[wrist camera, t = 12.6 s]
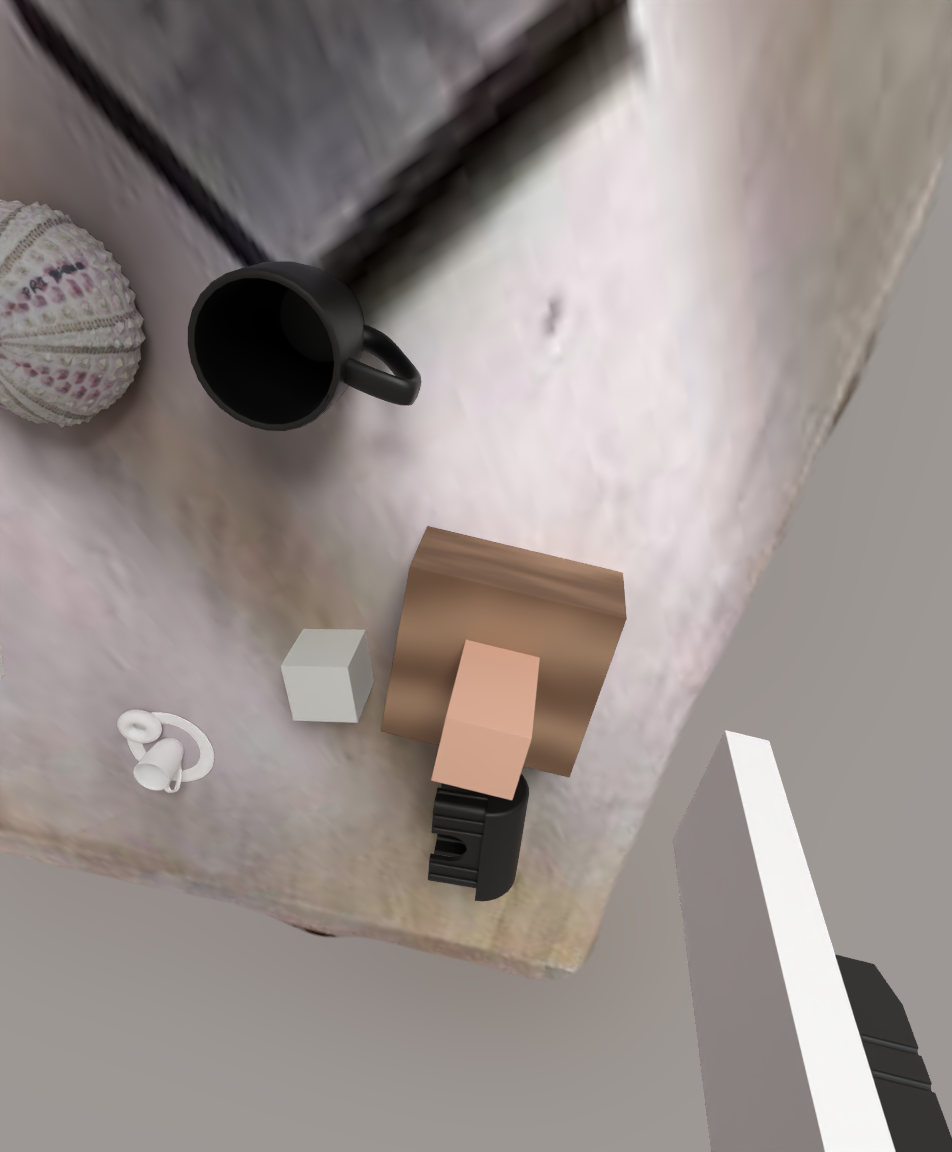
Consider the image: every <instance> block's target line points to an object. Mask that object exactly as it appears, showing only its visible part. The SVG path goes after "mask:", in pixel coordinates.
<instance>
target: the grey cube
mask: <svg viewBox="0 0 952 1152" xmlns="http://www.w3.org/2000/svg"><path fill="white" fill-rule="evenodd" d="M281 670H282V674H283V678H284V682H285V687H286V691H287V695H288V700H289V704H290V708H291V713H292V717H293V721H322V722H352V723H358V721H359V718H360V716H361V713H362V711H363V708H364V706H365V704H366V701H367V699H368V696H369V694H370V692H371V689H372V687H373V684H374V679H373V672H372V666H371V660H370V654H369V648H368V642H367V636H366V630H343V629H303V630H302V632H301V633H300V635H299V637H298V638H297V640H296V642H295V643H294V645H293V646H292V648H291V650H290V651H289V653H288V655H287V656H286V658H285V660H284V661H283V663H282V665H281Z"/></svg>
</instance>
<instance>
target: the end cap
mask: <svg viewBox="0 0 952 1152" xmlns="http://www.w3.org/2000/svg"><path fill="white" fill-rule="evenodd" d="M528 797H529V787H528V784H527V781H526V780H525V778H524V776H523V775H522V774H520V777H519V781H518V784H517V787H516V790H515V793H514V796H513V800H509V799H505V798H501V797H496V796H492V795H488V794H484V793H480V792H476V791H472V790H468V789H464V788H460V787H456V786H452V785H448V784H444V783H442V788H438V789H437V793H436V798H435V802H434V809H433V822H432V833H437V834H438V835H437V842H436V846H435V851H434V854H430V860H429V873H428V880H431V881H437V882H443V883H449V884H455V885H460V886H466V887H472V888H476V896H475V901H490V900H493V899H496V898H498V897H500V896H502V895H504V894H505V893H506V892H508V890H509V889H510V888H511V887H512V885H513V883H514V880H515V876H516V870H517V864H518V858H519V852H520V846H521V840H522V834H523V827H524V821H525V815H526V809H527V803H528ZM436 854H440V855H436ZM442 855H446V856H442ZM448 856H452V857H448Z"/></svg>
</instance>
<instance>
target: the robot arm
mask: <svg viewBox="0 0 952 1152" xmlns="http://www.w3.org/2000/svg"><path fill="white" fill-rule="evenodd" d="M4 675H5V672H4V665H3V659H2V652H1V645H0V679H1V678H2V677H3V676H4ZM673 844H674V852H675V859H676V868H677V876H678V885H679V893H680V901H681V909H682V917H683V925H684V933H685V942H686V950H687V958H688V967H689V975H690V983H691V991H692V998H693V1007H694V1016H695V1024H696V1032H697V1039H698V1048H699V1056H700V1065H701V1073H702V1081H703V1089H704V1097H705V1105H706V1112H707V1113H706V1114H707V1121H708V1130H709V1138H710V1146H711V1152H952V1137H951V1135H950V1132H949V1129H948V1127H947V1124H946V1121H945V1118H944V1116H943V1113H942V1111H941V1108H940V1105H939V1102H938V1100H937V1097H936V1094H935V1093H934V1092H932V1091H931V1081H930V1078H929V1075H928V1072H927V1070H926V1067H925V1064H924V1062H923V1059H922V1057H921V1056H919V1055H918V1053H917V1049H918V1045H917V1043H916V1040H915V1038H914V1035H913V1032H912V1029H911V1027H910V1024H909V1021H908V1018H907V1016H906V1013H905V1010H904V1008H903V1005H902V1003H901V1002H900V1001H899V999H898V998H897V996H896V995H895V993H894V992H893V990H892V989H891V988H890V986H889V985H888V983H887V982H886V980H885V979H884V978H883V976H882V975H881V973H880V972H879V971H878V969H877V968H876V966H875V965H874V964H871V963H867V962H863V961H859V960H855V959H851V958H847V957H843V956H839V955H835V953H834V950H833V947H832V944H831V941H830V938H829V934H828V931H827V928H826V924H825V921H824V918H823V915H822V911H821V908H820V905H819V902H818V898H817V895H816V892H815V889H814V886H813V882H812V879H811V876H810V872H809V869H808V866H807V863H806V859H805V856H804V853H803V850H802V846H801V843H800V840H799V837H798V834H797V830H796V827H795V824H794V820H793V817H792V814H791V811H790V807H789V805H788V801H787V798H786V794H785V791H784V788H783V785H782V781H781V778H780V775H779V772H778V768H777V765H776V762H775V759H774V755H773V752H772V749H771V746H770V742H769V741H767V740H763V739H759V738H755V737H751V736H746V735H742V734H738V733H734V732H730V731H726V730H725V732H724V734H723V736H722V738H721V740H720V742H719V744H718V746H717V749H716V750H715V753H714V755H713V757H712V759H711V761H710V763H709V765H708V767H707V769H706V771H705V773H704V775H703V777H702V780H701V782H700V784H699V786H698V788H697V790H696V792H695V794H694V796H693V798H692V800H691V802H690V804H689V806H688V808H687V811H686V813H685V815H684V817H683V819H682V821H681V823H680V825H679V827H678V829H677V831H676V833H675V835H674V837H673Z"/></svg>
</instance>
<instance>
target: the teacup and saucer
mask: <svg viewBox="0 0 952 1152" xmlns="http://www.w3.org/2000/svg"><path fill="white" fill-rule="evenodd" d="M161 723H163V724H171V725H174V726H177V727H179V728H181V729H183V730H185V731H186V732H188V733H189V734H190V735H191V736H192V737H193V738H194V739H195V741H196V742H197V744H198V746H199V748H200V754H201V755H200V760H199V762H198V763H197V764H196V765H195V766H194V767H192V768H190V769H187V770H182V768H181V761H182V758H183V754H184V748H183V746H182V744H181V743H180V742H179V741H178V740H176V739H173V738H165V739H162V740H160V741H159V742H157V743H156V744H155V745H154V746H153V747H152V748H151V749H150V750H149V751H148V752H147V753H146V751H145V749H144V747H143V744H142V743H150V742H153V741H155V740H157V739H158V738H159V737H160V735H161V732H162V725H161ZM117 727H118V729H119V731H120V733H121V734H122V735H123V736H124V737H126V738H127V741H128V745H129V748H130V750H131V752H132V754H133V755H134V757H135V758H136V759H137V760H138V761H139V762H138V764H137V765H136V766H135V768H134V776H135V778H136V780H137V781H138V782H139V783H140V784H141V785H142V786H144V787H146V788H148V789H151V790H163V789H164V790H165V791H166V792H167V793H174V792H176V791H177V790H178V789H179V787H180V784H181V782H189V781H195V780H198V779H200V778H202V777H204V776H205V775H207V774H208V773H209V772H210V770H211V769H212V767H213V764H214V751H213V748H212V745H211V743H210V742H209V740H208V738H207V737H206V736H205V734H204V733H203V732H202V731H201V730H200V729H199V728H197V727H196V726H195V725H194V724H192V723H191V722H189V721H187V720H185V719H183V718H181V717H179V716H176V715H173V714H169V713H163V712H151V713H149V712H147V711H144V710H137V709H135V710H129V711H126V712H125V713H123V714H122V715H121V716H120V717H119V719H118V722H117ZM171 780H173V781H176V785H175V788H174V790H171V789H170V786H169V783H170V782H171Z"/></svg>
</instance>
